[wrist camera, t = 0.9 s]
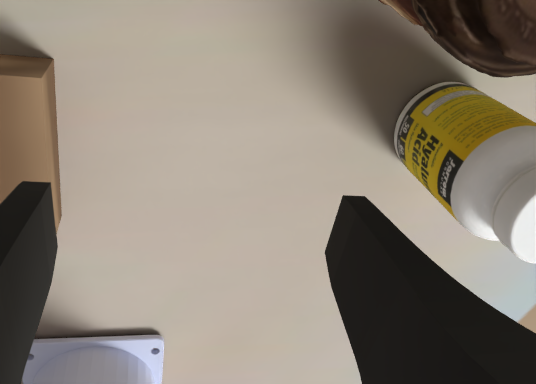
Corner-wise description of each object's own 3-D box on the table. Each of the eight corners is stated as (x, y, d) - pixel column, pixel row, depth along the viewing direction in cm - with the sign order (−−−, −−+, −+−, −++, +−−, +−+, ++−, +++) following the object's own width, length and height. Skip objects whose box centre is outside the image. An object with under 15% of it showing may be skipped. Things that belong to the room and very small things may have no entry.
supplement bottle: (380, 102, 27) (488, 192, 18) (476, 63, 27) (628, 134, 18) (400, 186, 29) (501, 297, 21) (487, 150, 30) (622, 247, 21)
